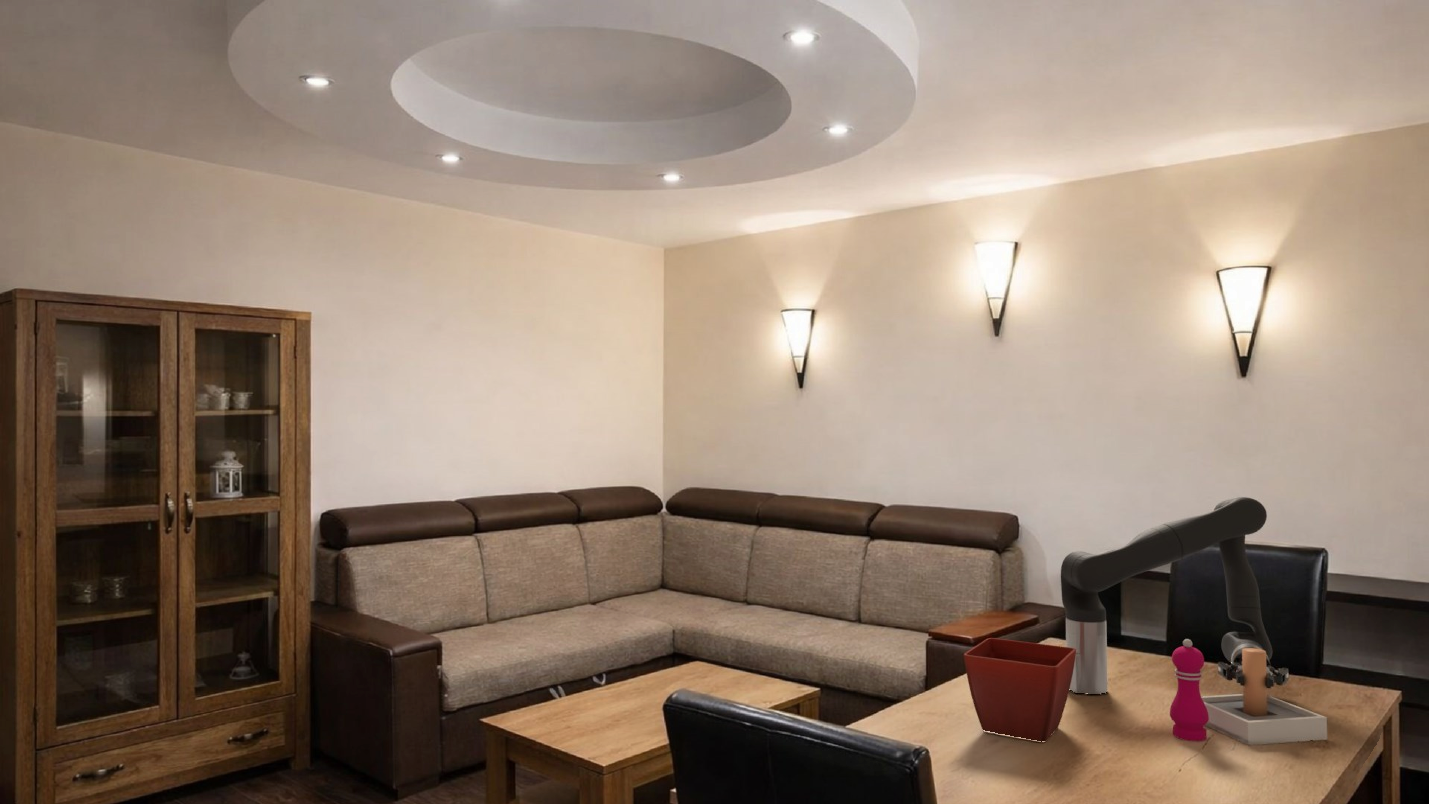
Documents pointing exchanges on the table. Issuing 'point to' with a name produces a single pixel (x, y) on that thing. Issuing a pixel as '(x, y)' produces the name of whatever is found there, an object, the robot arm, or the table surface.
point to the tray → (1264, 721)
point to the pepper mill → (1188, 694)
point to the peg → (1254, 682)
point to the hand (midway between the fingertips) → (1255, 682)
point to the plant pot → (1019, 686)
